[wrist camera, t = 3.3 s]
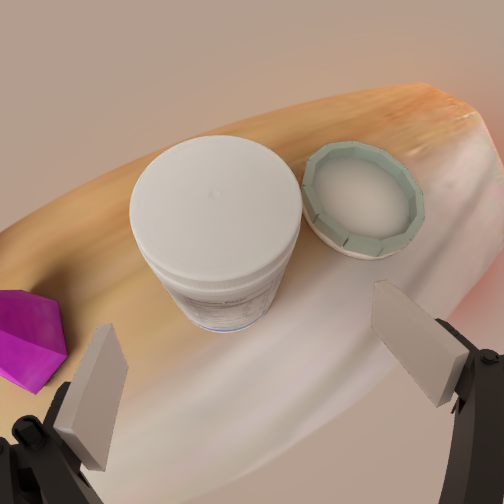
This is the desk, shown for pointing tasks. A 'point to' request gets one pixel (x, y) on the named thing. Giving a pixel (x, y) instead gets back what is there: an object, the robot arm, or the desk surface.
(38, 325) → the magenta faceted rounded piece
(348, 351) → the desk surface
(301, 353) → the desk surface
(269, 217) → the supplement tub
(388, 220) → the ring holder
